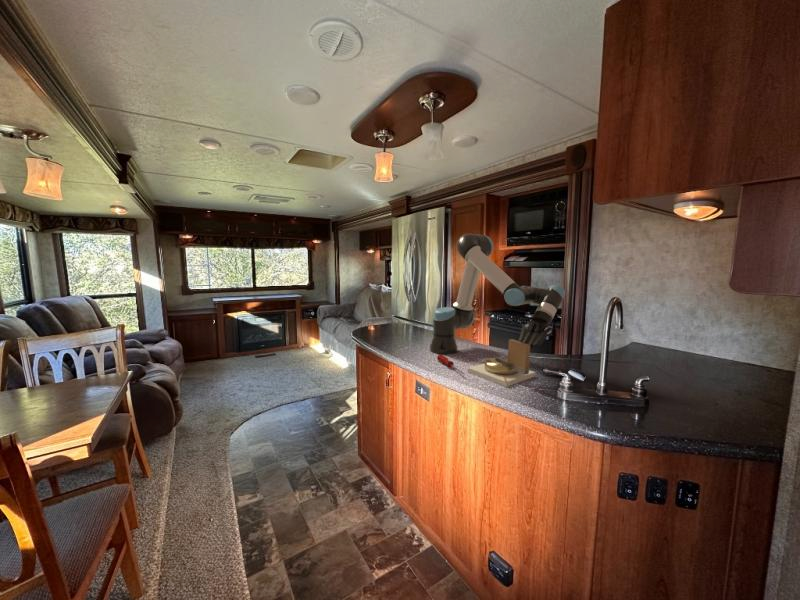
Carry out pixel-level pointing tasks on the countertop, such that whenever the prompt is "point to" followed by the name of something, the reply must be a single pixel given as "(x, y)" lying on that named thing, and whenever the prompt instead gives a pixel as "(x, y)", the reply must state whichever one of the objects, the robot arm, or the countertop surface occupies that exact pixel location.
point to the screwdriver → (446, 362)
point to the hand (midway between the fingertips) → (519, 359)
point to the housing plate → (500, 376)
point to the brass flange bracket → (511, 360)
